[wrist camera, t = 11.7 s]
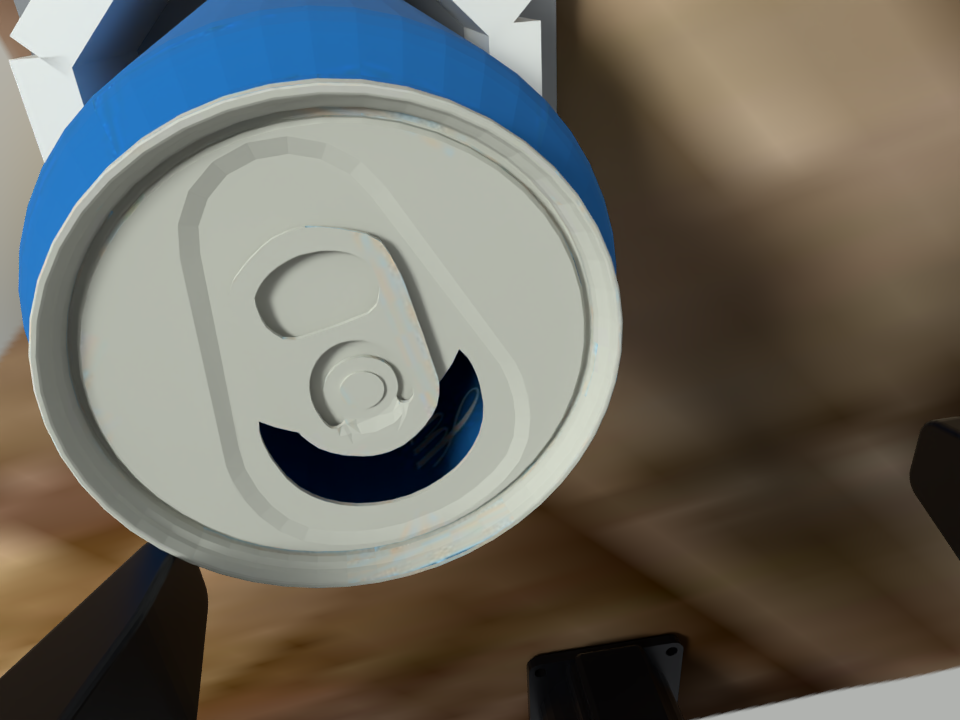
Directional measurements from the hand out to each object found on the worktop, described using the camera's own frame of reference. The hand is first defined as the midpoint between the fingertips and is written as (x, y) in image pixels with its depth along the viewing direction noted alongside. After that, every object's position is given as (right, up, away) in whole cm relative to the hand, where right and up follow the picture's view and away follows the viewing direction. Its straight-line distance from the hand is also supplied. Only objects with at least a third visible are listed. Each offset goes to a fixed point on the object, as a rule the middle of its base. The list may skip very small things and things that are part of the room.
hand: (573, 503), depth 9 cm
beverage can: (-5, +8, +8) cm, 12 cm away
